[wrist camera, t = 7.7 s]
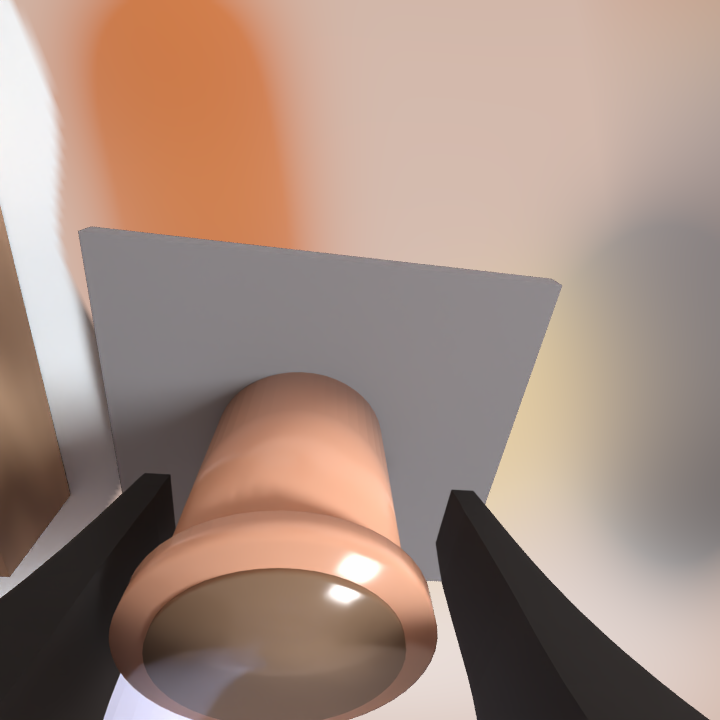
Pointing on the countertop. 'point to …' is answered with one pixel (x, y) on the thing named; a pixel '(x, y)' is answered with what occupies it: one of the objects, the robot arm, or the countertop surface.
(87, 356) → the countertop surface
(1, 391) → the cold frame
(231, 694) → the pot
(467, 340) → the slate mat
